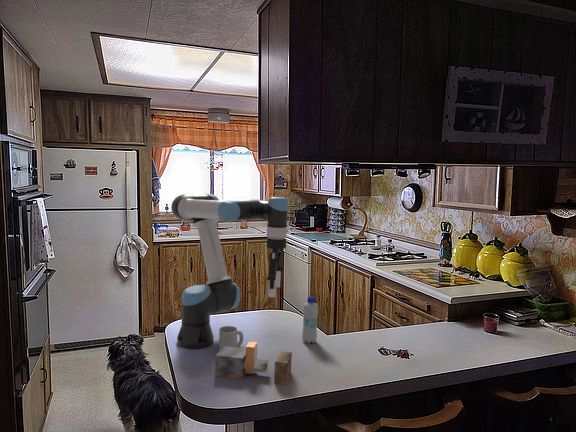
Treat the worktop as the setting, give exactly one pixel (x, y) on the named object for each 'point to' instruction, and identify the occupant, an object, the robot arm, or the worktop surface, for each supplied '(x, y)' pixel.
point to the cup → (229, 337)
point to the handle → (254, 360)
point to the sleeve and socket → (233, 364)
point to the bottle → (310, 320)
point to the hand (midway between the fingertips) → (274, 291)
